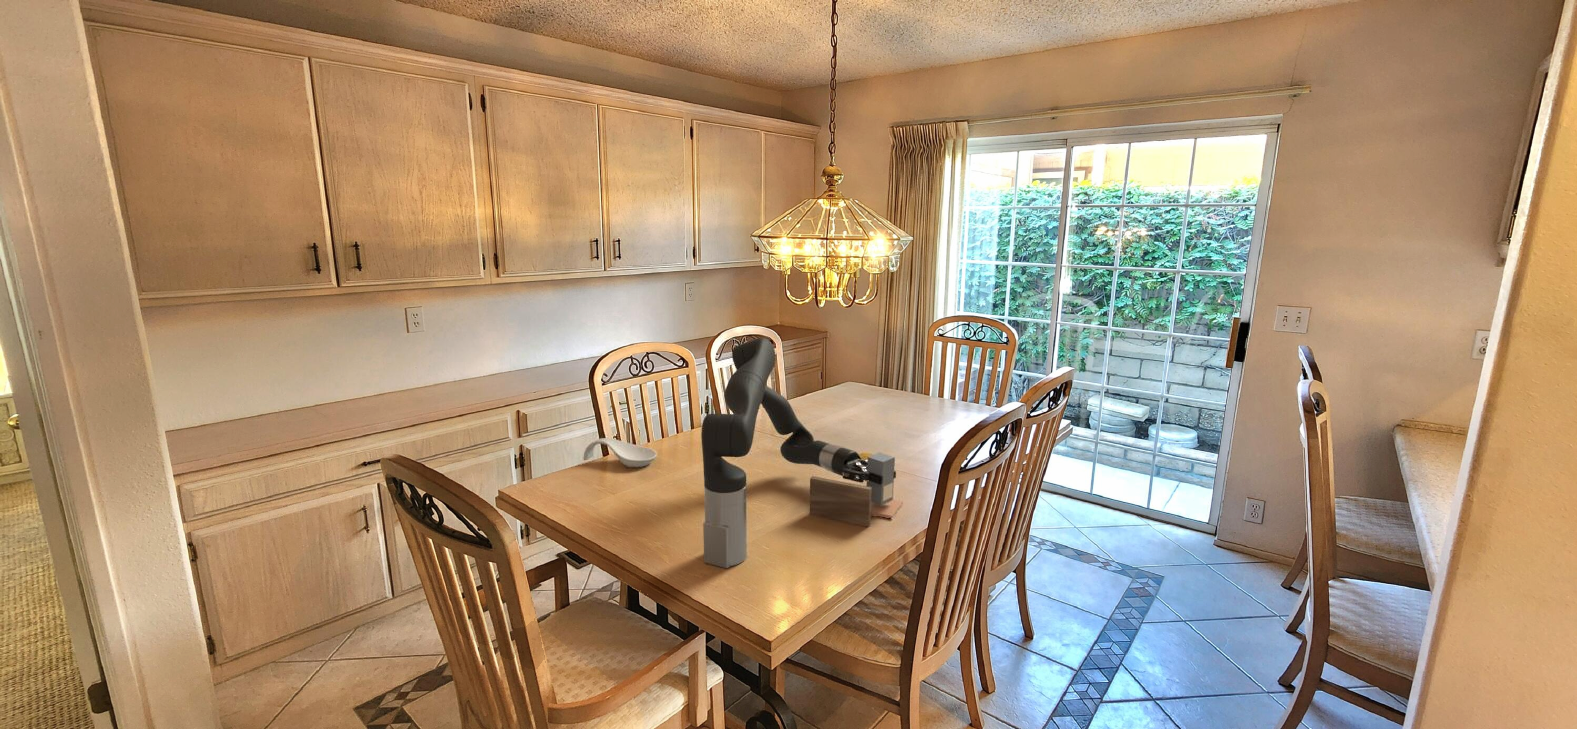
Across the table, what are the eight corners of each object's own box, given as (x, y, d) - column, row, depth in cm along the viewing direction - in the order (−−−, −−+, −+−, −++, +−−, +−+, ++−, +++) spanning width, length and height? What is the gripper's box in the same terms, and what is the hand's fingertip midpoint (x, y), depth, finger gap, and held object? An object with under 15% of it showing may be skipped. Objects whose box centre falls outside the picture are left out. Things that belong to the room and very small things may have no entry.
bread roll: (873, 460, 206) (873, 448, 205) (883, 470, 197) (884, 458, 196) (848, 462, 204) (849, 450, 203) (858, 472, 195) (858, 460, 194)
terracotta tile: (891, 519, 164) (892, 515, 164) (854, 511, 168) (854, 508, 168) (902, 504, 173) (902, 501, 172) (867, 497, 177) (867, 494, 177)
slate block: (893, 500, 170) (895, 457, 167) (881, 506, 166) (883, 462, 164) (877, 494, 173) (879, 452, 171) (865, 499, 170) (867, 456, 167)
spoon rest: (663, 460, 204) (662, 438, 203) (646, 473, 193) (645, 450, 192) (596, 453, 210) (595, 432, 208) (576, 465, 199) (574, 443, 197)
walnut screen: (868, 527, 160) (869, 489, 157) (809, 514, 166) (810, 478, 164) (870, 524, 161) (871, 487, 159) (811, 512, 168) (812, 476, 166)
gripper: (822, 453, 173) (872, 471, 161) (856, 441, 182) (905, 457, 171) (821, 479, 174) (870, 499, 162) (855, 466, 184) (904, 484, 172)
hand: (888, 477), depth 167 cm, fingers closed on slate block, 5 cm apart
